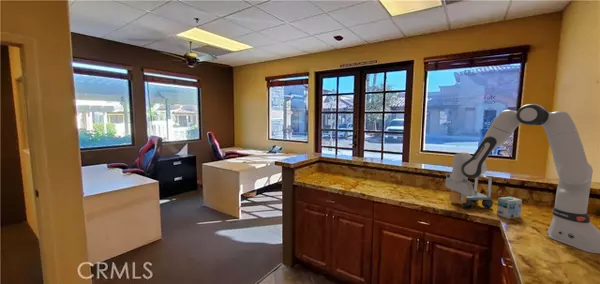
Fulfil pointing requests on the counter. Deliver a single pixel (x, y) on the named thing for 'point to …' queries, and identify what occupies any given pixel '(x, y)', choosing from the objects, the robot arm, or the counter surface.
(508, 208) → the light bulb box
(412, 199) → the counter surface
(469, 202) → the trolley
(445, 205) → the counter surface
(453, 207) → the counter surface
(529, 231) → the counter surface
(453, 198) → the block
